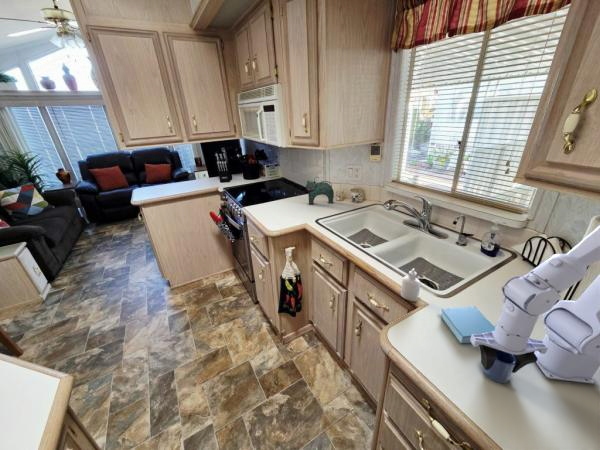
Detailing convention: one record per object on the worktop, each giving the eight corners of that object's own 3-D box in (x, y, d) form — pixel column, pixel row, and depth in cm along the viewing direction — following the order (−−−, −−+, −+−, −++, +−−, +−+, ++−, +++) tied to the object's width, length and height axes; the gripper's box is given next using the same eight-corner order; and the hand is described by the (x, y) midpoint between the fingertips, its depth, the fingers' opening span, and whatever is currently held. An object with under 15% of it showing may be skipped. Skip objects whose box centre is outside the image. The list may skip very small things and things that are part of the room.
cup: (501, 364, 63) (508, 346, 61) (513, 384, 59) (522, 366, 56) (478, 362, 64) (485, 344, 62) (488, 381, 60) (496, 363, 57)
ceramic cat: (306, 205, 180) (305, 178, 172) (306, 202, 186) (305, 176, 177) (334, 203, 180) (334, 176, 171) (333, 200, 185) (332, 174, 177)
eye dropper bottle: (407, 290, 91) (411, 263, 86) (420, 300, 86) (425, 271, 81) (398, 294, 89) (402, 266, 84) (410, 304, 84) (414, 275, 79)
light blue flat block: (473, 313, 79) (475, 306, 78) (498, 341, 69) (501, 334, 68) (439, 316, 79) (441, 308, 78) (460, 344, 69) (462, 336, 68)
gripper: (539, 316, 57) (521, 356, 63) (470, 310, 60) (458, 349, 66) (563, 341, 51) (540, 383, 57) (484, 334, 54) (470, 375, 59)
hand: (497, 367), depth 61 cm, fingers closed on cup, 5 cm apart
